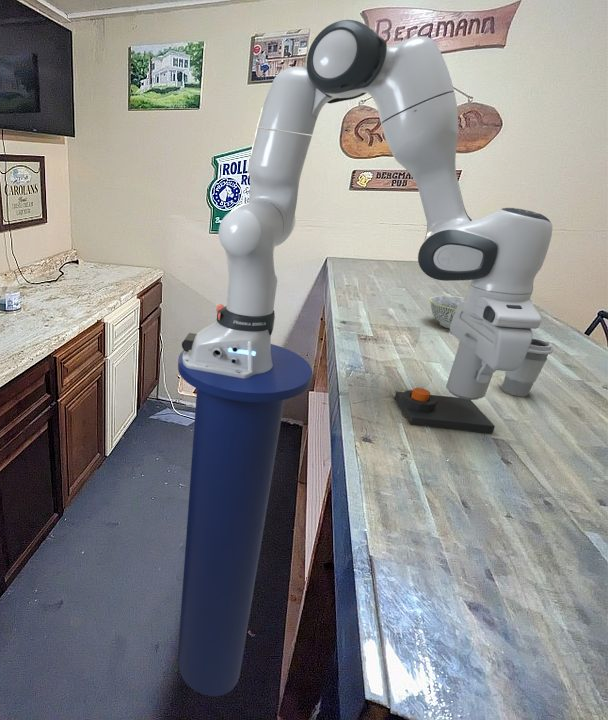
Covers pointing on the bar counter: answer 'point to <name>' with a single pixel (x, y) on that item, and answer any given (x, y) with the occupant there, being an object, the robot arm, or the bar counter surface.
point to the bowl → (444, 308)
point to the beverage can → (466, 372)
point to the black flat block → (444, 413)
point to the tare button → (420, 394)
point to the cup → (527, 369)
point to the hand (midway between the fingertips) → (471, 372)
